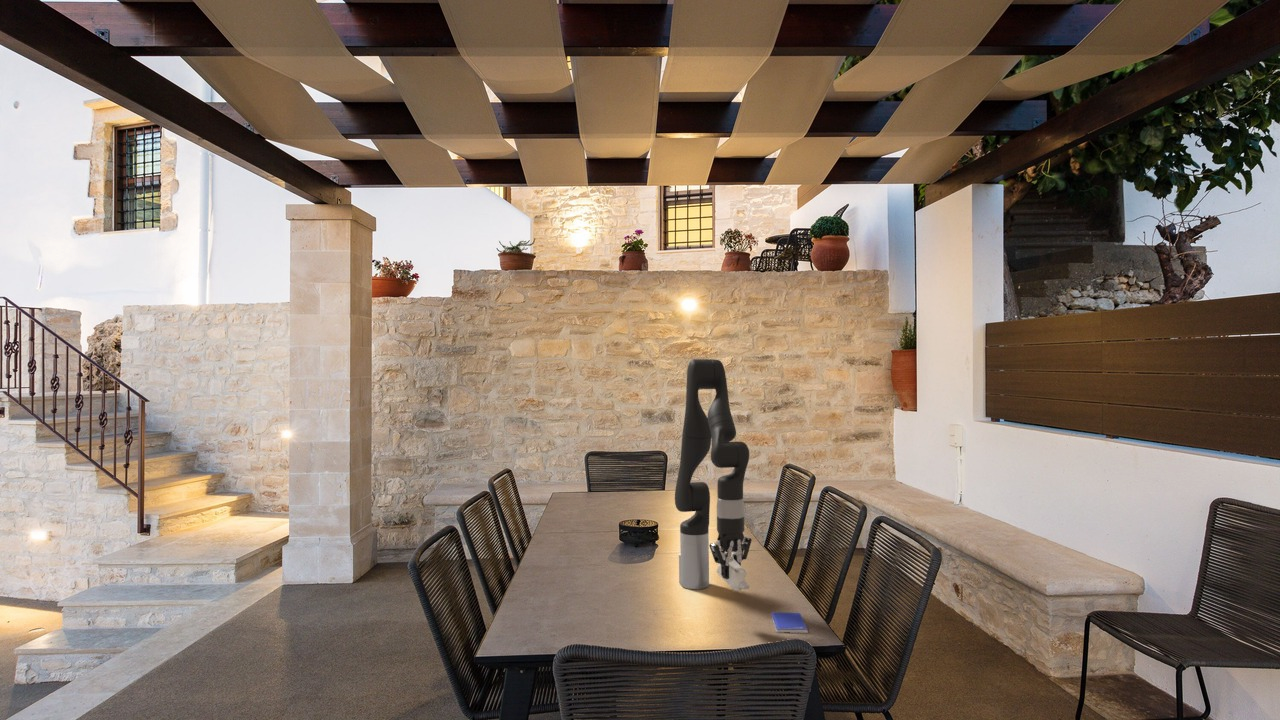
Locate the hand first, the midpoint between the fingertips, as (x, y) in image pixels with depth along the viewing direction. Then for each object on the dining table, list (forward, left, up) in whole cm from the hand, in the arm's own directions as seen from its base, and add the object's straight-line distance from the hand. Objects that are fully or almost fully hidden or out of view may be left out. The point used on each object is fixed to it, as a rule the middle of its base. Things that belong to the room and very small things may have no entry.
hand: (731, 576), depth 190 cm
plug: (-1, 0, -1) cm, 1 cm away
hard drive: (+9, +13, -14) cm, 21 cm away
